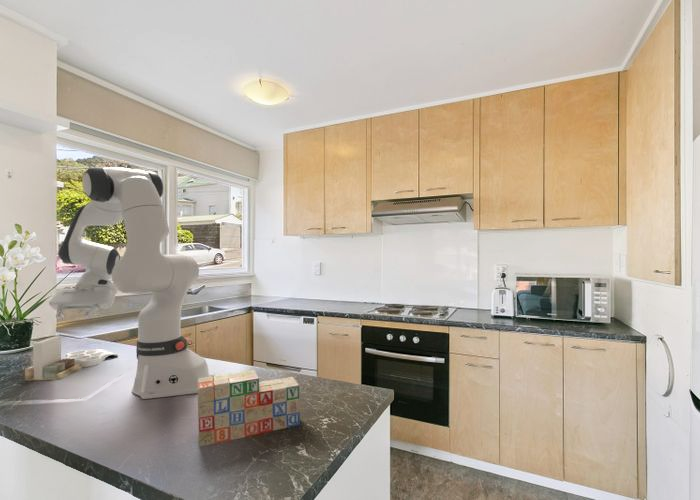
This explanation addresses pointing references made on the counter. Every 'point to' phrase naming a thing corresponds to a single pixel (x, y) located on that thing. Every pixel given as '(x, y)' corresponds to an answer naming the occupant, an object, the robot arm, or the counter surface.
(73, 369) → the oak rack
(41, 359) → the cream board
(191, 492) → the counter surface
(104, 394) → the counter surface
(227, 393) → the stack of blocks
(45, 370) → the offcuts
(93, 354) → the knuckle duster
